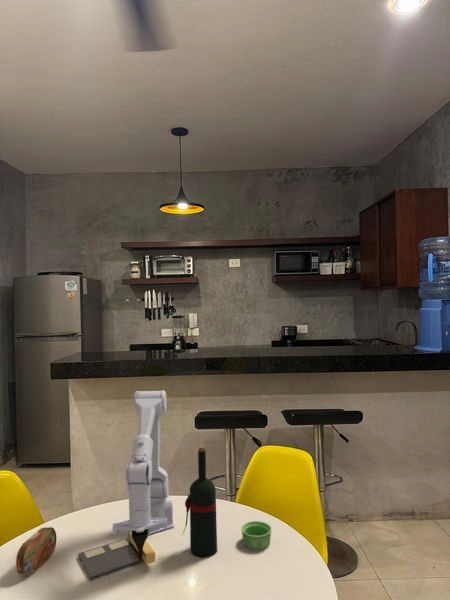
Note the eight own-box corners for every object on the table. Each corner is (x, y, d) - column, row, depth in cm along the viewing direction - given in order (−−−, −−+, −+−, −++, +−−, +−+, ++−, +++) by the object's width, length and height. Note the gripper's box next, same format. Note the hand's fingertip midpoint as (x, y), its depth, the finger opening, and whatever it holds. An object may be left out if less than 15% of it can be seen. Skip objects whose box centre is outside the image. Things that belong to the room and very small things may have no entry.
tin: (24, 582, 114) (24, 550, 114) (13, 581, 115) (13, 549, 115) (57, 550, 129) (57, 521, 129) (48, 549, 129) (47, 521, 129)
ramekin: (244, 533, 136) (243, 519, 136) (273, 536, 134) (272, 522, 134) (239, 549, 127) (238, 534, 127) (270, 552, 126) (269, 537, 126)
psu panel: (135, 538, 134) (135, 534, 134) (151, 559, 123) (151, 554, 123) (78, 556, 125) (78, 551, 125) (90, 580, 114) (90, 575, 114)
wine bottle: (185, 542, 132) (183, 442, 132) (219, 543, 131) (217, 442, 131) (179, 557, 124) (177, 450, 124) (215, 558, 123) (213, 451, 123)
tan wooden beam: (127, 537, 132) (127, 529, 132) (136, 534, 133) (136, 526, 133) (146, 564, 118) (146, 555, 118) (156, 561, 119) (155, 552, 119)
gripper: (111, 515, 115) (112, 568, 114) (167, 510, 117) (168, 561, 117) (113, 503, 121) (114, 553, 121) (166, 498, 124) (166, 546, 124)
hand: (140, 556), depth 120 cm, fingers closed, pressing on tan wooden beam
